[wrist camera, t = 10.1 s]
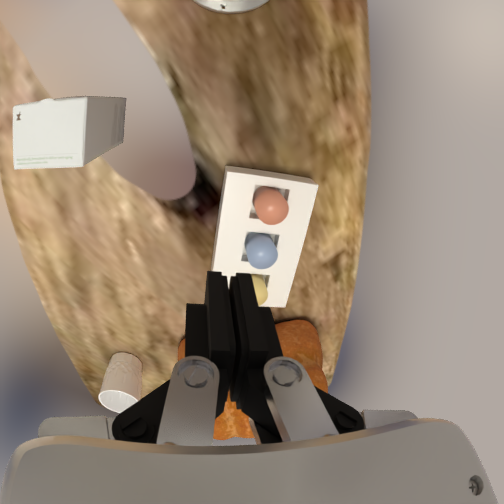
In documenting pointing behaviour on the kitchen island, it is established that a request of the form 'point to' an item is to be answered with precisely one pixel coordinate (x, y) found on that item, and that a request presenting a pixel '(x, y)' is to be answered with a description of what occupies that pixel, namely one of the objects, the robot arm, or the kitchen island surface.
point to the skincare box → (66, 131)
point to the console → (262, 227)
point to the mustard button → (260, 288)
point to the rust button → (270, 205)
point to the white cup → (121, 382)
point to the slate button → (260, 250)
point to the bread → (293, 346)
